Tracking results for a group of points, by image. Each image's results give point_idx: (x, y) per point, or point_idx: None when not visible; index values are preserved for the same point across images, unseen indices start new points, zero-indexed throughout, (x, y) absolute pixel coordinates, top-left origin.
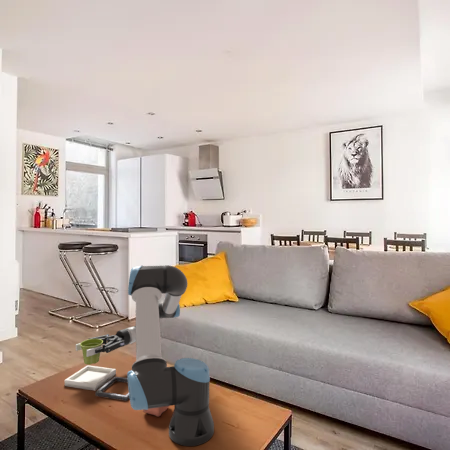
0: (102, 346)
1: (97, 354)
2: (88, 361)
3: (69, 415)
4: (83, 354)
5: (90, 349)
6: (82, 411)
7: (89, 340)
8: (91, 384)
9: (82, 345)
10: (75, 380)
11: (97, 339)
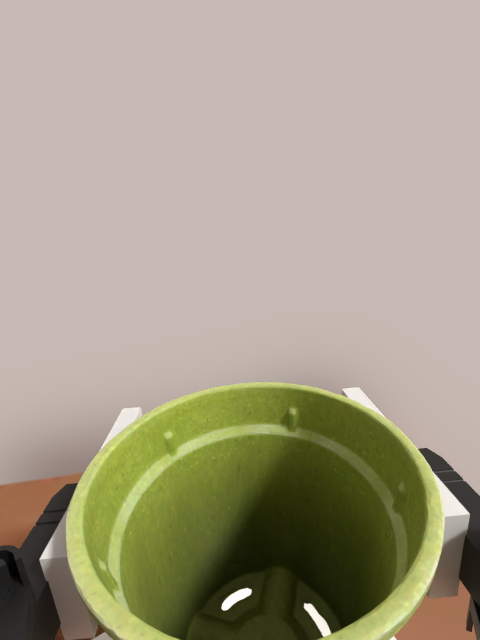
0: (17, 569)
1: (145, 619)
2: (208, 563)
3: (45, 486)
4: (257, 484)
5: (113, 426)
6: (4, 526)
7: (415, 484)
8: (99, 637)
9: (333, 433)
10: None
11: (384, 603)
